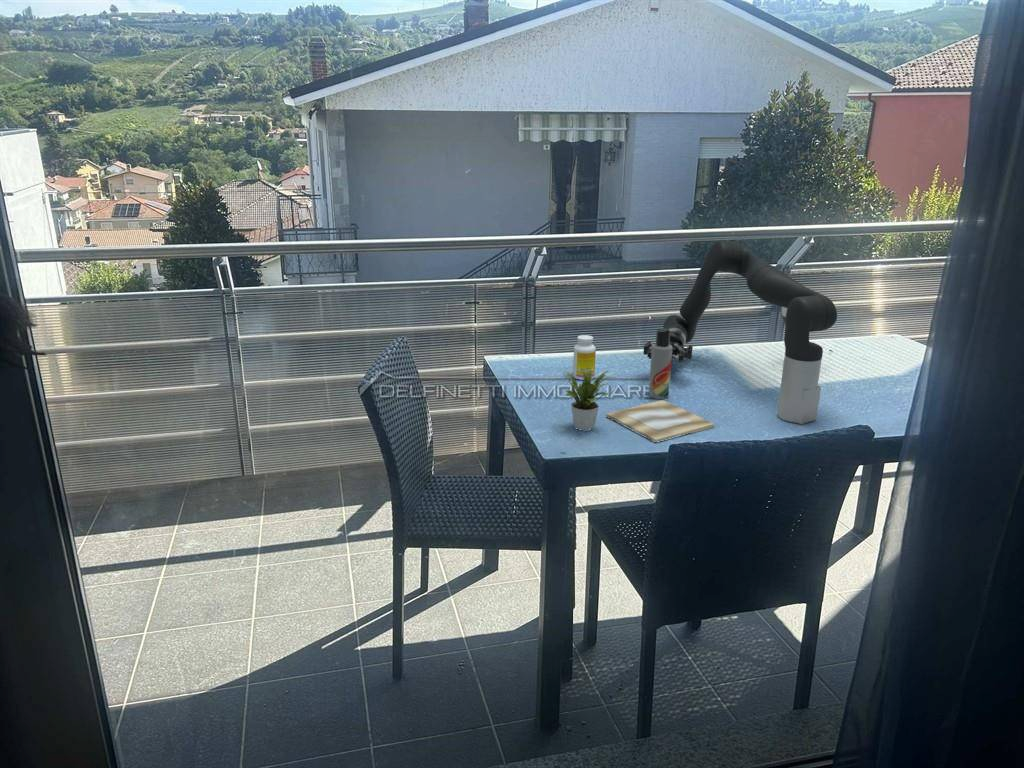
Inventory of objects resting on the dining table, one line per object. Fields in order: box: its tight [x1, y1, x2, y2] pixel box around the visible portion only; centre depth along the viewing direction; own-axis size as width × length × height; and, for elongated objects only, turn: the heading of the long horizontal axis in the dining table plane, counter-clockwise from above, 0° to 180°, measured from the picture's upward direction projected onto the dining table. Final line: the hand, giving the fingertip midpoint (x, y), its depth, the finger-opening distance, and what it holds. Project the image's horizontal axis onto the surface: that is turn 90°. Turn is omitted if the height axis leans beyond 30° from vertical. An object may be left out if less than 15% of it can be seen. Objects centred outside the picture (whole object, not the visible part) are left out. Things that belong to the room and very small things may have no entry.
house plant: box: [564, 366, 617, 430], centre depth 201 cm, size 14×14×16 cm
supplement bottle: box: [572, 334, 597, 381], centre depth 240 cm, size 7×7×13 cm
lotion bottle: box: [648, 327, 673, 400], centre depth 224 cm, size 6×6×20 cm
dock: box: [605, 399, 715, 442], centre depth 208 cm, size 20×20×1 cm
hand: (664, 357), depth 231 cm, fingers open, 8 cm apart
